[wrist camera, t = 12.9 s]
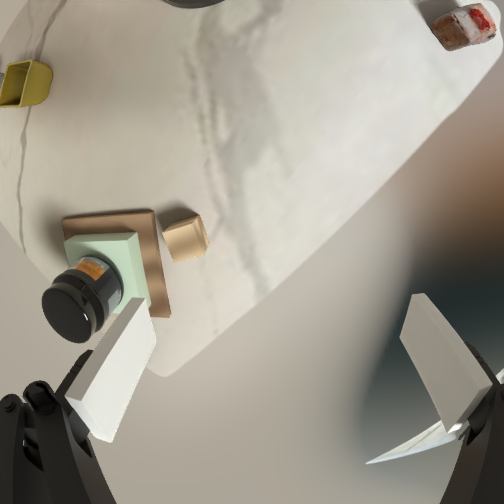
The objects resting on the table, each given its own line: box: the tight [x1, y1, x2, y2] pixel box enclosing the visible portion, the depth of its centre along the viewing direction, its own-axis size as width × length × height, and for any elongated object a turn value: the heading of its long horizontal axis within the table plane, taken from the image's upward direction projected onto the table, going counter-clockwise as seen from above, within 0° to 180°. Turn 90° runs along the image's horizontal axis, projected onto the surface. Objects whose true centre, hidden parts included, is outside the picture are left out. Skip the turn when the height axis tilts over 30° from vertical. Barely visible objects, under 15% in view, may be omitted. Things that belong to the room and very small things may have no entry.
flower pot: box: [0, 59, 53, 108], centre depth 30 cm, size 9×9×9 cm
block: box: [162, 215, 210, 263], centre depth 43 cm, size 5×5×5 cm
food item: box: [429, 3, 496, 51], centre depth 22 cm, size 14×8×10 cm, turn 130°
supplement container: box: [42, 254, 124, 343], centre depth 37 cm, size 10×10×12 cm
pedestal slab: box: [63, 232, 151, 314], centre depth 45 cm, size 14×14×4 cm
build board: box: [62, 211, 171, 318], centre depth 47 cm, size 20×20×2 cm
